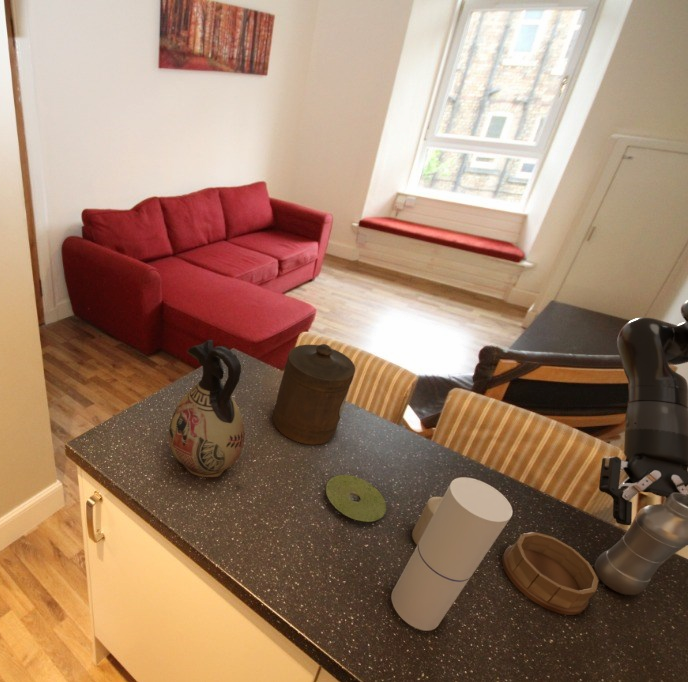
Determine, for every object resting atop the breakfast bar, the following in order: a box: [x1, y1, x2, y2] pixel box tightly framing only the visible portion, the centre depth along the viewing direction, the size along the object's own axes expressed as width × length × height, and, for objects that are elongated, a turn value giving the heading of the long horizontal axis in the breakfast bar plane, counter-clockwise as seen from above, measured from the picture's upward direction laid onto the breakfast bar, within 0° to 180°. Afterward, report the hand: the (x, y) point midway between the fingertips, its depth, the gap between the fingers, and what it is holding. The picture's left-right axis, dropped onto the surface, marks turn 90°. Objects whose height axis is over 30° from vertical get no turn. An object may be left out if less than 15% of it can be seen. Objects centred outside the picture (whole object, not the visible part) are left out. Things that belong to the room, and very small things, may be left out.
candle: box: [411, 496, 444, 546], centre depth 79 cm, size 6×6×10 cm
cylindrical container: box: [390, 476, 513, 632], centre depth 64 cm, size 7×7×25 cm
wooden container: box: [272, 343, 356, 445], centre depth 102 cm, size 15×15×22 cm
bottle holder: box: [501, 531, 600, 616], centre depth 75 cm, size 12×12×5 cm
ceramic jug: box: [168, 339, 246, 478], centre depth 86 cm, size 17×15×30 cm
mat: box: [325, 474, 387, 523], centre depth 87 cm, size 11×11×2 cm
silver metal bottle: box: [594, 493, 688, 596], centre depth 72 cm, size 6×7×20 cm
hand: (655, 532), depth 71 cm, fingers open, 8 cm apart
